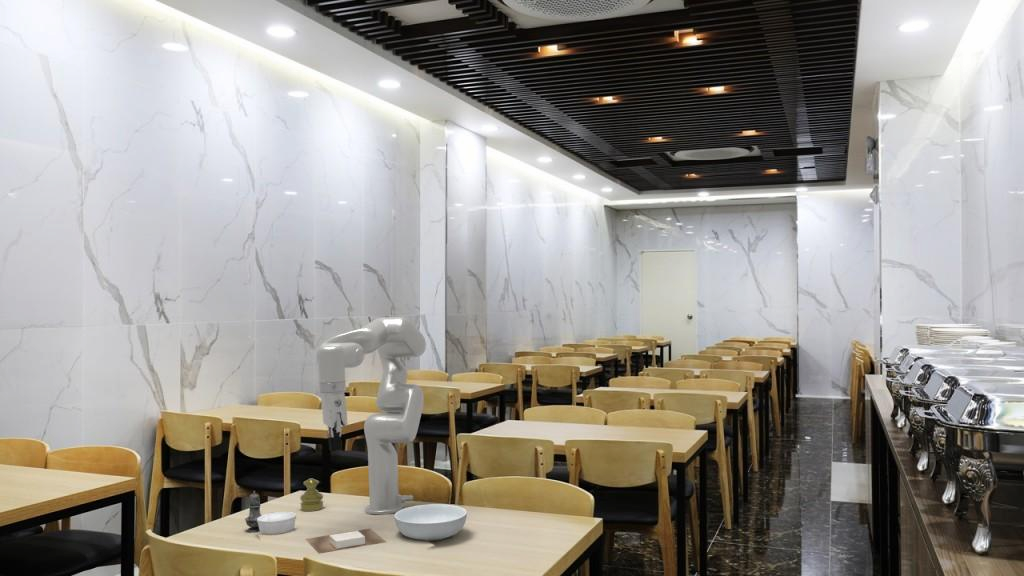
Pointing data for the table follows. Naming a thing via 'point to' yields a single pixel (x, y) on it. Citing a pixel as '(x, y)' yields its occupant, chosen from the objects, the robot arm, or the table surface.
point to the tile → (347, 539)
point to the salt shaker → (253, 513)
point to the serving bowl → (430, 521)
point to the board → (324, 546)
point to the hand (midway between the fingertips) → (335, 450)
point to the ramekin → (276, 522)
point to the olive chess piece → (311, 496)
